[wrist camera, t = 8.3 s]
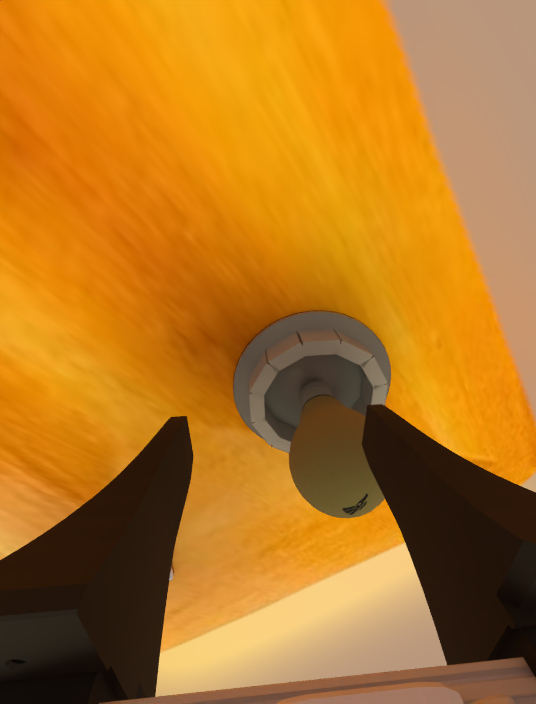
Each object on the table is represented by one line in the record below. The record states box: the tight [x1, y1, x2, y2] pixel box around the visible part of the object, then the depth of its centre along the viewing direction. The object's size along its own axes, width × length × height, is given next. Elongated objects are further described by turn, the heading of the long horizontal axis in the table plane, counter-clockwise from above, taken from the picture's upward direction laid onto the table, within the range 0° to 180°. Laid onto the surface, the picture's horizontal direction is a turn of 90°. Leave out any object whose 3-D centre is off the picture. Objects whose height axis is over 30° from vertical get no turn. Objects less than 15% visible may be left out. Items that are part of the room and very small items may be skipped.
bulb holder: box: [234, 311, 391, 453], centre depth 23 cm, size 12×12×2 cm
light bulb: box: [289, 381, 385, 518], centre depth 19 cm, size 6×6×10 cm
